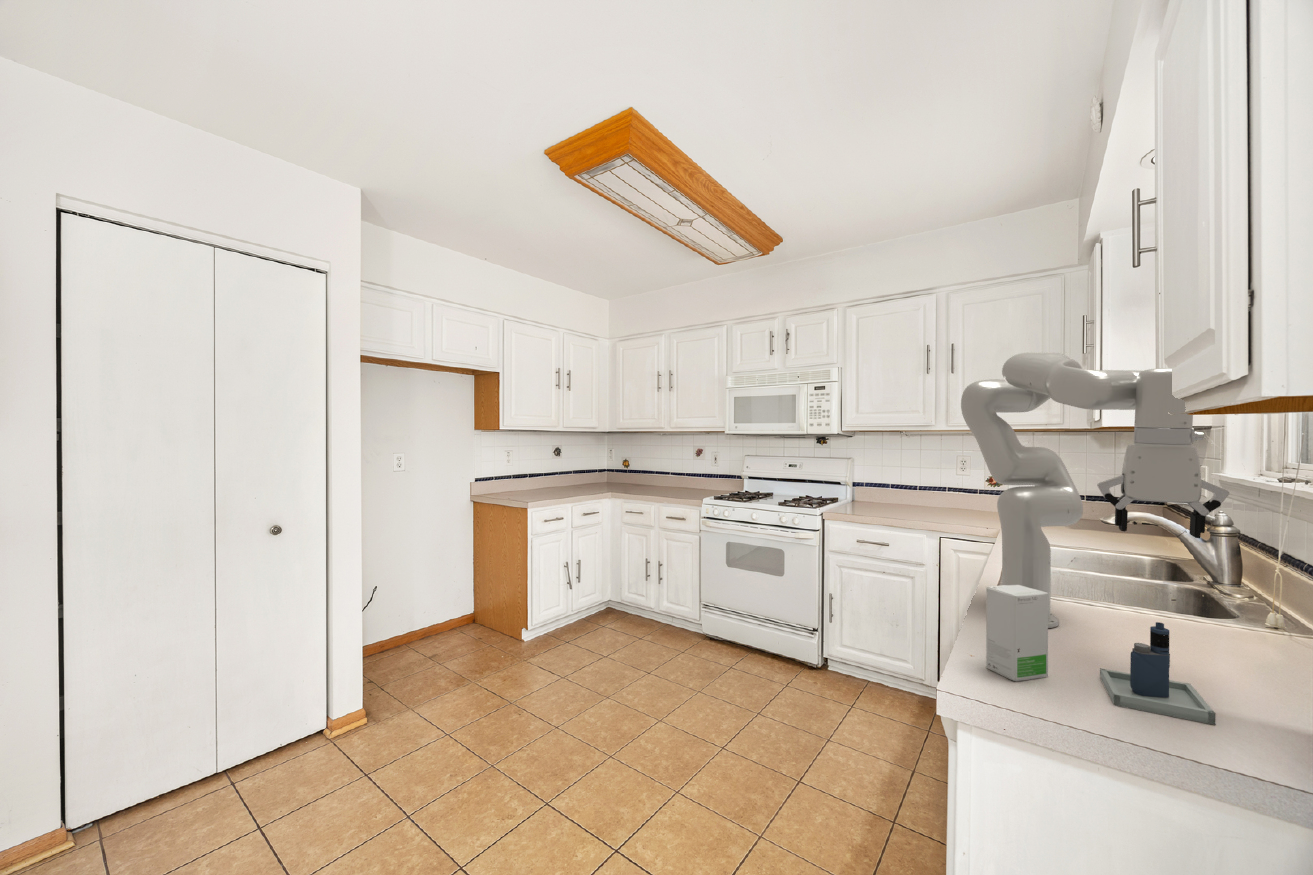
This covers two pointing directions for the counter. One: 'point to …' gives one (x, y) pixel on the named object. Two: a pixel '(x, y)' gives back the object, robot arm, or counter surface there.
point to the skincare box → (1017, 632)
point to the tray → (1158, 698)
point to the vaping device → (1151, 664)
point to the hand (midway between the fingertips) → (1157, 533)
